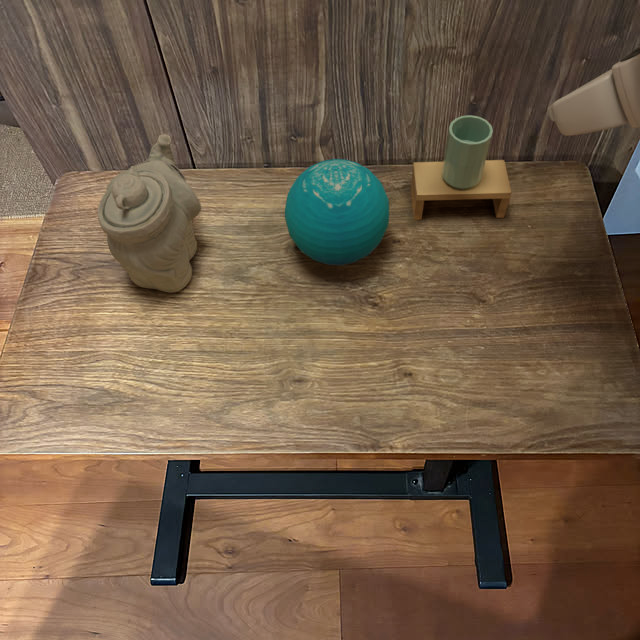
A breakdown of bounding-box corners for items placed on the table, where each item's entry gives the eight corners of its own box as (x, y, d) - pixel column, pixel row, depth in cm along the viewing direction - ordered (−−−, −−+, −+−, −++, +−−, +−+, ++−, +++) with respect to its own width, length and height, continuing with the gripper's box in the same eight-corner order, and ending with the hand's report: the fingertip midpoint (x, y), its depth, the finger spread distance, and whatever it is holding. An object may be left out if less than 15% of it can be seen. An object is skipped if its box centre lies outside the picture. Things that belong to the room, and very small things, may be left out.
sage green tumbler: (466, 197, 93) (476, 150, 85) (433, 178, 95) (440, 131, 88) (489, 175, 95) (501, 127, 87) (456, 157, 97) (465, 109, 90)
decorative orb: (380, 206, 100) (385, 131, 87) (393, 281, 92) (400, 211, 79) (286, 214, 100) (277, 140, 87) (291, 290, 91) (282, 220, 79)
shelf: (497, 185, 101) (504, 159, 97) (503, 217, 97) (511, 192, 93) (410, 187, 102) (413, 162, 97) (413, 220, 98) (416, 195, 93)
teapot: (181, 201, 102) (151, 105, 86) (241, 250, 96) (220, 157, 80) (97, 258, 96) (47, 166, 80) (154, 315, 90) (113, 227, 74)
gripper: (747, -10, 63) (630, 36, 76) (612, 69, 57) (510, 105, 69) (763, 51, 65) (646, 86, 77) (633, 134, 58) (530, 157, 71)
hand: (580, 96), depth 73 cm, fingers open, 8 cm apart
